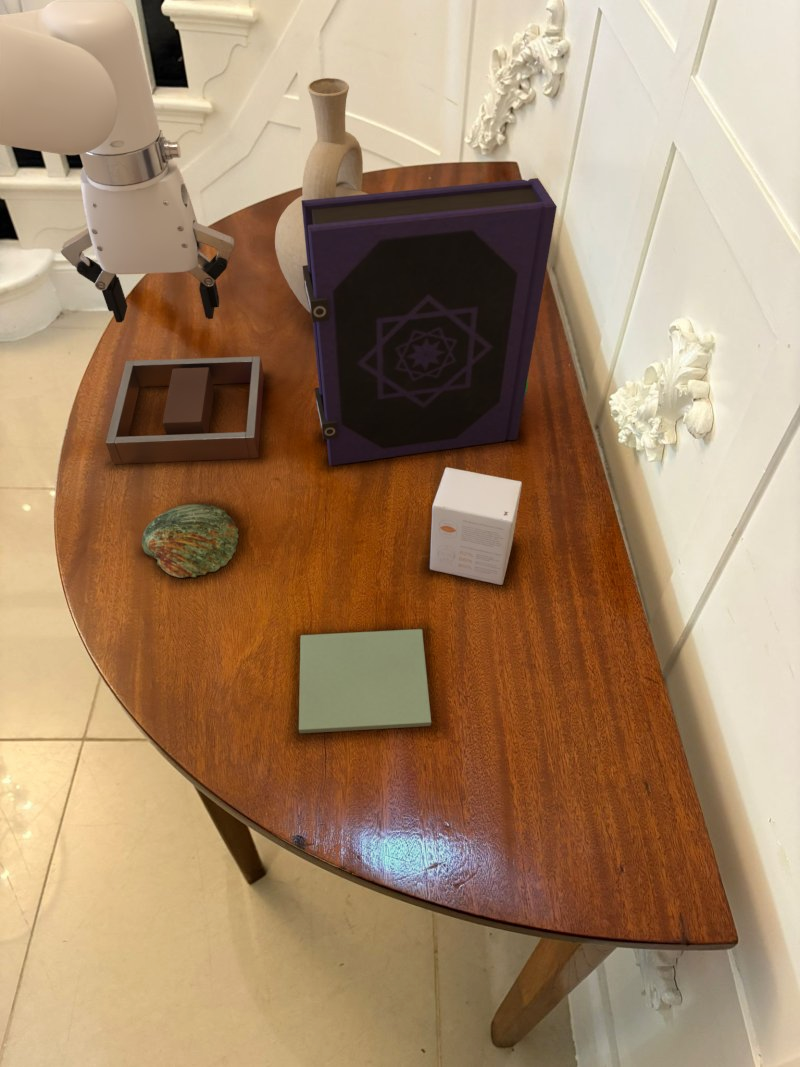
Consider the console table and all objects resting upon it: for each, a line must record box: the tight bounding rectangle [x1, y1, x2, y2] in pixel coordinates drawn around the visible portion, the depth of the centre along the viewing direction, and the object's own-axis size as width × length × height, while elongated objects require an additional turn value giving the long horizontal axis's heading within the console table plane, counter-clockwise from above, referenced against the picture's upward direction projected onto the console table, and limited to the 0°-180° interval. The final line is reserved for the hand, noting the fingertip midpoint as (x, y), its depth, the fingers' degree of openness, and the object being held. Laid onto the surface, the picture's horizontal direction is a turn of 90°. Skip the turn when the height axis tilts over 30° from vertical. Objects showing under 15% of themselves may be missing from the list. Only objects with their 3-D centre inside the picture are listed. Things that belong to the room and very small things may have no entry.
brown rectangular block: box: [162, 367, 215, 435], centre depth 95 cm, size 4×10×4 cm, turn 4°
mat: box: [298, 628, 432, 734], centre depth 74 cm, size 12×10×1 cm
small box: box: [429, 466, 523, 586], centre depth 79 cm, size 8×6×10 cm
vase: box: [274, 77, 368, 314], centre depth 100 cm, size 17×17×30 cm
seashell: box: [141, 503, 240, 579], centre depth 83 cm, size 10×4×10 cm
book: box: [301, 177, 558, 467], centre depth 83 cm, size 24×6×30 cm, turn 102°
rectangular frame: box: [105, 355, 265, 465], centre depth 96 cm, size 17×15×4 cm
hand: (166, 313), depth 85 cm, fingers open, 9 cm apart
